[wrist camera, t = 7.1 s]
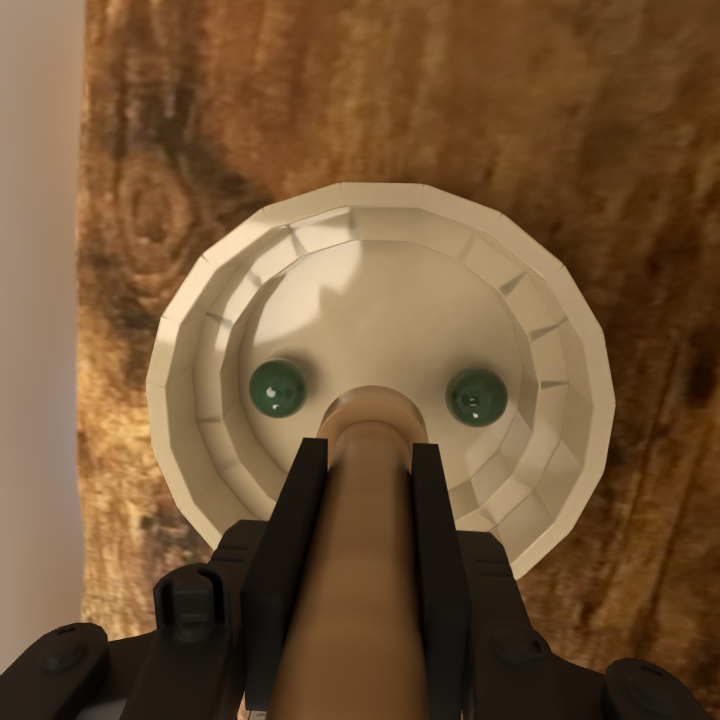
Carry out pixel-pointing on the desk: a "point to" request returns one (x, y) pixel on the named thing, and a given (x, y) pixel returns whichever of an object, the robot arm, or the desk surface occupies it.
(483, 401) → the marble
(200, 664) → the robot arm
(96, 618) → the desk surface
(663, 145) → the desk surface
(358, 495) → the muddler
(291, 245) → the bowl
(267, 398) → the marble
